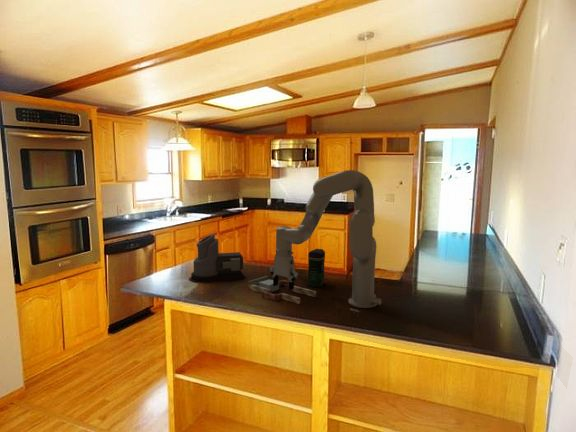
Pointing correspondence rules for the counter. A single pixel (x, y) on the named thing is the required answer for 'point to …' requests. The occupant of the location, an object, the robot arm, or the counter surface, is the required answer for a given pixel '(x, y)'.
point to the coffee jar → (316, 267)
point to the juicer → (215, 263)
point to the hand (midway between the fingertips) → (283, 287)
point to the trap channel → (268, 293)
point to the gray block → (269, 285)
